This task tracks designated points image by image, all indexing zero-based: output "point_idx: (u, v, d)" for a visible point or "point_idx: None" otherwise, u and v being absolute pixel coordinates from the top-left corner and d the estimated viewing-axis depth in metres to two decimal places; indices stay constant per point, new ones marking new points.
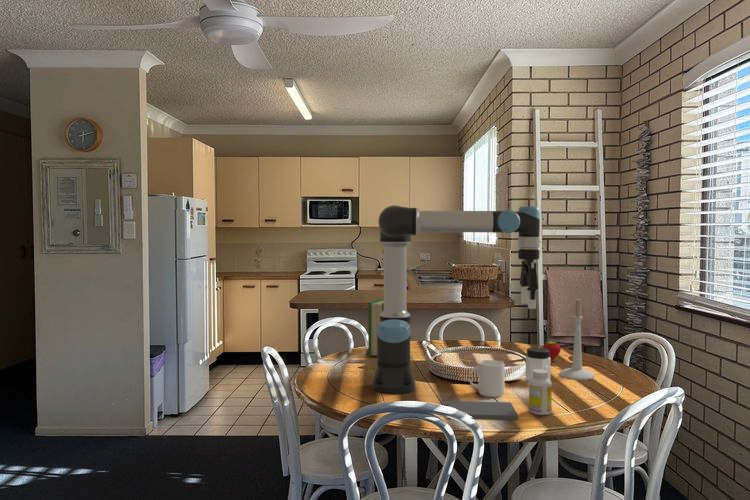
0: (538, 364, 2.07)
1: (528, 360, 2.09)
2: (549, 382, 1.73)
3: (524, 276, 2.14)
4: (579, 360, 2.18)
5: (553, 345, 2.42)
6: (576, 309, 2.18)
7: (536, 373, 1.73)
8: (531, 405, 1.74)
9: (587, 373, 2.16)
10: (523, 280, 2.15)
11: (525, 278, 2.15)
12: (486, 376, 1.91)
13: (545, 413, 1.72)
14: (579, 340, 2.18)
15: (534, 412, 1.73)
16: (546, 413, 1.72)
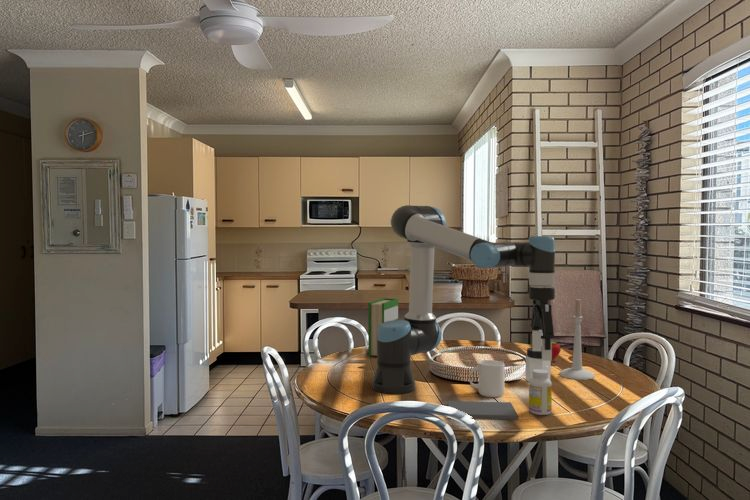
0: (538, 364, 2.07)
1: (528, 360, 2.09)
2: (549, 382, 1.73)
3: (536, 319, 1.78)
4: (579, 360, 2.18)
5: (553, 345, 2.42)
6: (576, 309, 2.18)
7: (536, 373, 1.73)
8: (531, 405, 1.74)
9: (587, 373, 2.16)
10: (535, 323, 1.80)
11: (537, 321, 1.79)
12: (486, 376, 1.91)
13: (545, 413, 1.72)
14: (579, 340, 2.18)
15: (534, 412, 1.73)
16: (546, 413, 1.72)
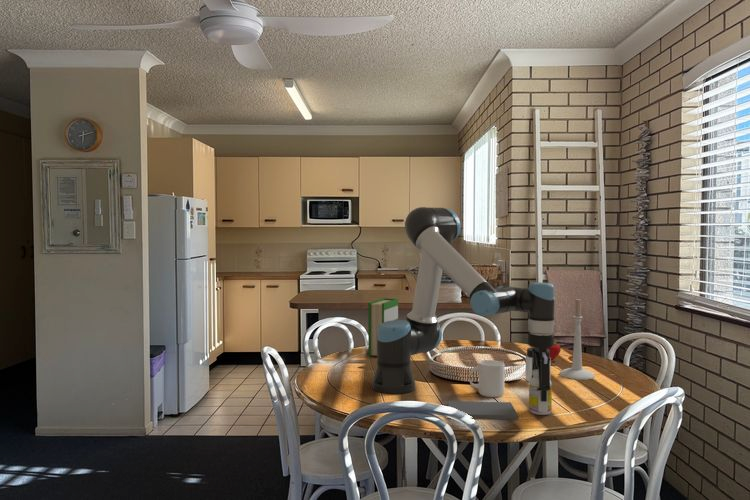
0: None
1: (528, 360, 2.09)
2: None
3: (536, 367, 1.77)
4: (579, 360, 2.18)
5: None
6: (576, 309, 2.18)
7: (536, 373, 1.73)
8: (531, 405, 1.74)
9: (587, 373, 2.16)
10: None
11: None
12: (486, 376, 1.91)
13: (545, 413, 1.72)
14: (579, 340, 2.18)
15: (534, 412, 1.73)
16: (546, 413, 1.72)
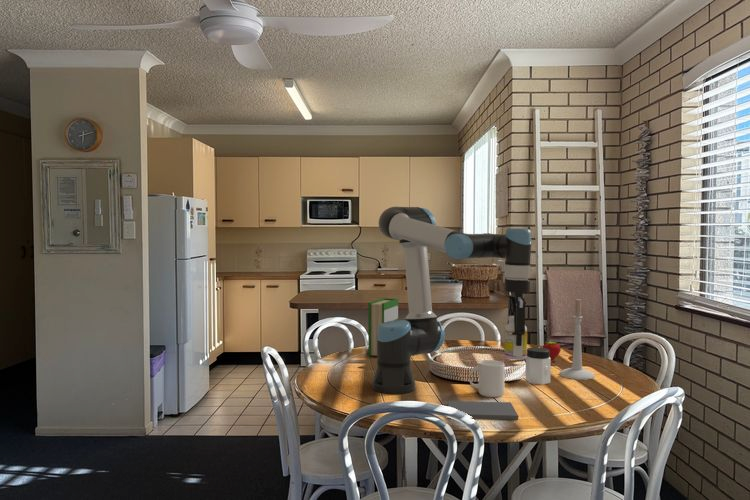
0: (538, 364, 2.07)
1: (528, 360, 2.09)
2: None
3: (512, 314, 1.77)
4: (579, 360, 2.18)
5: (553, 345, 2.42)
6: (576, 309, 2.18)
7: (512, 318, 1.73)
8: (506, 351, 1.74)
9: (587, 373, 2.16)
10: None
11: None
12: (486, 376, 1.91)
13: (520, 358, 1.72)
14: (579, 340, 2.18)
15: (509, 357, 1.73)
16: (521, 358, 1.72)
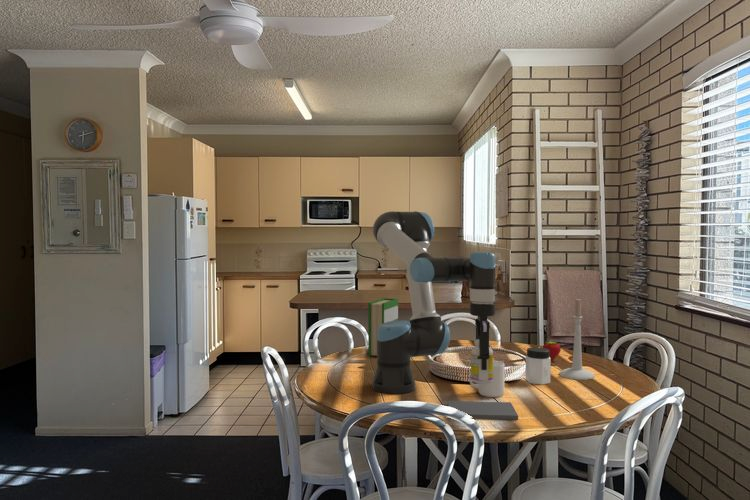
0: (538, 364, 2.07)
1: (528, 360, 2.09)
2: (490, 351, 1.73)
3: (479, 337, 1.77)
4: (579, 360, 2.18)
5: (553, 345, 2.42)
6: (576, 309, 2.18)
7: (477, 342, 1.73)
8: (472, 375, 1.74)
9: (587, 373, 2.16)
10: None
11: None
12: None
13: (486, 382, 1.72)
14: (579, 340, 2.18)
15: (475, 381, 1.73)
16: (487, 382, 1.72)
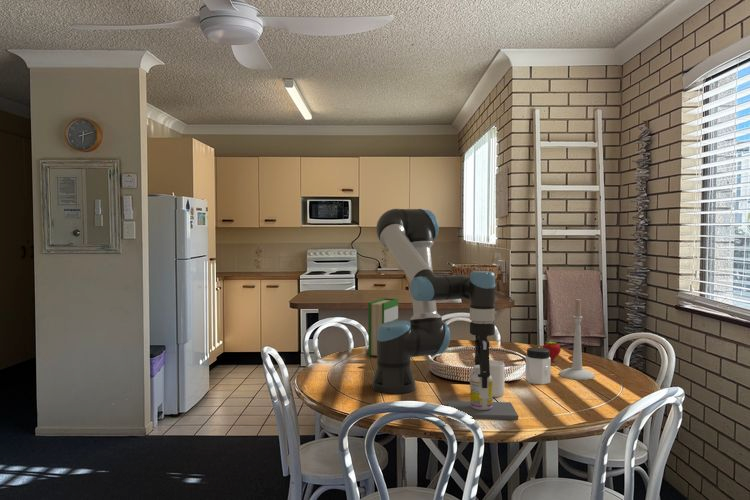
0: (538, 364, 2.07)
1: (528, 360, 2.09)
2: (489, 377, 1.73)
3: (478, 354, 1.78)
4: (579, 360, 2.18)
5: (553, 345, 2.42)
6: (576, 309, 2.18)
7: (476, 368, 1.74)
8: (472, 401, 1.75)
9: (587, 373, 2.16)
10: (477, 359, 1.80)
11: None
12: None
13: (485, 408, 1.73)
14: (579, 340, 2.18)
15: (475, 407, 1.74)
16: (486, 408, 1.73)
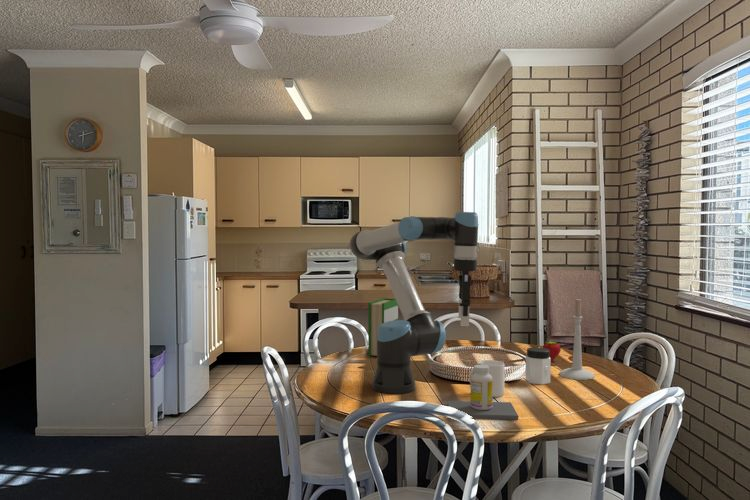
0: (538, 364, 2.07)
1: (528, 360, 2.09)
2: (490, 377, 1.73)
3: (461, 288, 1.93)
4: (579, 360, 2.18)
5: (553, 345, 2.42)
6: (576, 309, 2.18)
7: (477, 368, 1.74)
8: (472, 401, 1.75)
9: (587, 373, 2.16)
10: (461, 292, 1.95)
11: None
12: None
13: (485, 408, 1.73)
14: (579, 340, 2.18)
15: (475, 407, 1.74)
16: (486, 408, 1.73)
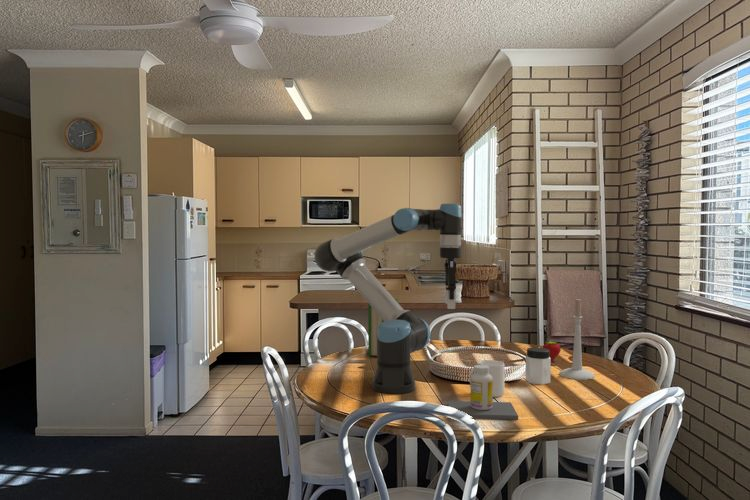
0: (538, 364, 2.07)
1: (528, 360, 2.09)
2: (490, 377, 1.73)
3: (447, 275, 2.08)
4: (579, 360, 2.18)
5: (553, 345, 2.42)
6: (576, 309, 2.18)
7: (477, 368, 1.74)
8: (472, 401, 1.74)
9: (587, 373, 2.16)
10: (447, 279, 2.09)
11: None
12: None
13: (485, 408, 1.73)
14: (579, 340, 2.18)
15: (475, 407, 1.74)
16: (487, 408, 1.73)
